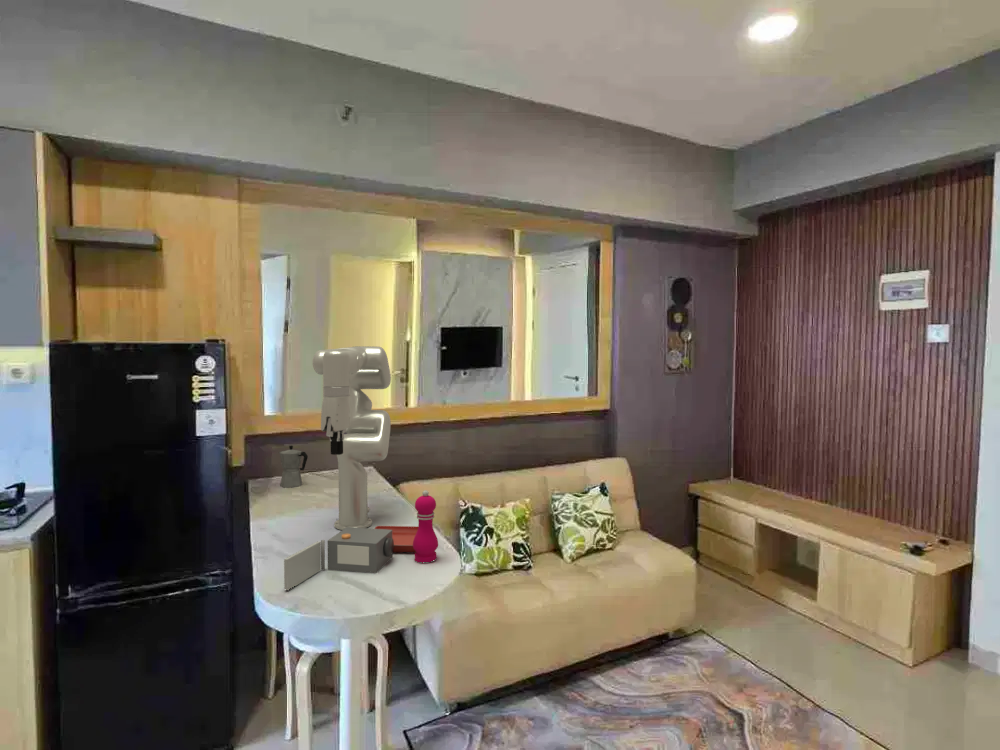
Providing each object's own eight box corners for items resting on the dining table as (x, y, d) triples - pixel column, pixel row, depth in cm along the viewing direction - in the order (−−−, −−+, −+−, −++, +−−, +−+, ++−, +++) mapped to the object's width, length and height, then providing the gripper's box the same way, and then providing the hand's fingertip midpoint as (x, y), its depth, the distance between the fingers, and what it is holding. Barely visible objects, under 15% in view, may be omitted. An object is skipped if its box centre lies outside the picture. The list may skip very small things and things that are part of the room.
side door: (325, 568, 151) (325, 540, 151) (289, 590, 136) (289, 559, 136) (320, 567, 151) (320, 539, 151) (284, 590, 137) (284, 559, 137)
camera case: (347, 553, 163) (346, 524, 162) (396, 557, 160) (396, 527, 160) (327, 569, 151) (327, 537, 150) (380, 573, 148) (380, 541, 148)
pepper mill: (414, 565, 154) (414, 494, 153) (411, 556, 161) (411, 488, 160) (440, 562, 156) (440, 492, 155) (435, 553, 163) (435, 486, 162)
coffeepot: (271, 486, 245) (271, 446, 244) (286, 482, 254) (286, 443, 253) (300, 489, 240) (299, 448, 239) (314, 484, 249) (314, 445, 248)
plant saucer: (431, 535, 181) (431, 525, 180) (424, 555, 162) (424, 544, 162) (376, 535, 180) (376, 525, 180) (362, 555, 162) (362, 544, 162)
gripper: (336, 390, 172) (336, 449, 172) (312, 394, 157) (312, 458, 158) (359, 391, 170) (359, 450, 171) (336, 394, 156) (337, 459, 156)
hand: (336, 454), depth 164 cm, fingers closed
